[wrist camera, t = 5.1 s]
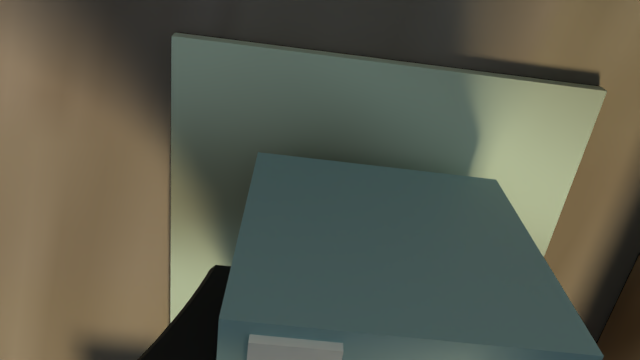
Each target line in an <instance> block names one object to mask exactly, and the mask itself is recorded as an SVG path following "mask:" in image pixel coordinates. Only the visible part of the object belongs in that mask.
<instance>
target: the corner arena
mask: <svg viewBox="0 0 640 360" xmlns="http://www.w3.org/2000/svg"><path fill="white" fill-rule="evenodd" d="M606 93H607V91H606V90H605V89H603V88H602V87H600V86H592V85H584V84H576V83H568V82H560V81H553V80H545V79H537V78H529V77H521V76H513V75H505V74H498V73H490V72H482V71H474V70H466V69H458V68H450V67H443V66H435V65H427V64H419V63H411V62H403V61H395V60H388V59H380V58H372V57H364V56H356V55H348V54H340V53H333V52H325V51H317V50H309V49H301V48H293V47H285V46H278V45H270V44H262V43H254V42H246V41H238V40H230V39H223V38H215V37H207V36H199V35H191V34H183V33H174V34H173V35H172V39H171V288H170V323H171V322H172V321H173V320H174V318H175V317H176V316H177V315H178V313H179V312H180V311H181V310H182V309H183V307H184V306H185V305H186V303H187V302H188V301H189V299H190V298H191V297H192V295H193V294H194V293H195V291H196V290H197V288H198V287H199V286H200V284H201V283H202V281H203V279H204V278H205V276H206V275H207V273H208V271H209V270H210V269H211V268H212V267H214V266H215V265H223V266H231V265H232V260H233V256H234V252H235V248H236V243H237V239H238V235H239V231H240V226H241V222H242V218H243V214H244V209H245V205H246V201H247V197H248V192H249V188H250V184H251V180H252V175H253V171H254V167H255V163H256V158H257V154H258V152H260V153H269V154H278V155H287V156H295V157H304V158H313V159H322V160H330V161H339V162H348V163H356V164H365V165H374V166H383V167H391V168H400V169H409V170H418V171H426V172H435V173H444V174H452V175H461V176H470V177H479V178H487V179H496V180H497V182H498V183H499V185H500V187H501V188H502V190H503V191H504V193H505V195H506V196H507V198H508V200H509V201H510V203H511V205H512V206H513V208H514V209H515V211H516V213H517V214H518V216H519V218H520V219H521V221H522V223H523V224H524V226H525V228H526V229H527V231H528V232H529V234H530V236H531V237H532V239H533V241H534V242H535V244H536V246H537V247H538V249H539V251H540V252H541V254H542V255H543V257H544V255H545V253H546V250H547V247H548V245H549V242H550V240H551V237H552V234H553V232H554V229H555V226H556V224H557V221H558V219H559V216H560V213H561V211H562V208H563V206H564V203H565V200H566V198H567V195H568V192H569V190H570V187H571V185H572V182H573V179H574V177H575V174H576V171H577V169H578V166H579V164H580V161H581V158H582V156H583V153H584V150H585V148H586V145H587V143H588V140H589V137H590V135H591V132H592V129H593V127H594V124H595V122H596V119H597V116H598V114H599V111H600V108H601V106H602V103H603V101H604V98H605V95H606ZM597 346H598V347H599V349H600V351H601V352H602V354H603V356H604V357H603V359H602V360H640V254H639V256H638V259H637V261H636V263H635V265H634V267H633V269H632V271H631V273H630V275H629V277H628V280H627V282H626V284H625V286H624V288H623V290H622V292H621V294H620V296H619V298H618V301H617V303H616V305H615V307H614V309H613V311H612V313H611V315H610V317H609V319H608V322H607V324H606V326H605V328H604V330H603V332H602V334H601V336H600V338H599V340H598V343H597Z"/></svg>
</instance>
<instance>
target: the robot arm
mask: <svg viewBox="0 0 640 360" xmlns="http://www.w3.org/2000/svg"><path fill="white" fill-rule="evenodd" d="M230 269H231V266H223V265H215V266H214V267H212V268H211V269H210V270H209V271H208V273H207V275H206V276H205V278H204V279H203V281H202V283H201V284H200V286H199V287H198V288H197V290H196V291H195V293H194V294H193V295H192V297H191V298H190V299H189V301H188V302H187V303H186V305H185V306H184V307H183V309H182V310H181V311H180V312H179V313H178V315H177V316H176V317H175V318H174V320H173V321H172V322H171V323H170V324H169V326H168V327H167V328H166V329H165V330H164V332H163V333H162V334H161V335H160V336H159V337H158V339H157V340H156V341H155V342H154V343H153V344H152V345H151V346H150V347H149V348H148V349H147V350H146V351H145V353H144V354H143V355H142V356H141V357H140V358H139V359H138V360H216V358H217V340H218V322H219V316H220V311H221V307H222V303H223V299H224V294H225V290H226V286H227V282H228V277H229V273H230Z"/></svg>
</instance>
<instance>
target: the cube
mask: <svg viewBox="0 0 640 360" xmlns="http://www.w3.org/2000/svg"><path fill="white" fill-rule="evenodd" d="M603 357H604V356H603V354H602V352H601V351H600V349H599V347H598V346H597V344H596V342H595V341H594V339H593V337H592V336H591V334H590V333H589V331H588V329H587V328H586V326H585V324H584V323H583V321H582V319H581V318H580V316H579V315H578V313H577V311H576V310H575V308H574V306H573V305H572V303H571V301H570V300H569V298H568V296H567V295H566V293H565V292H564V290H563V288H562V287H561V285H560V283H559V282H558V280H557V278H556V277H555V275H554V273H553V272H552V270H551V269H550V267H549V265H548V264H547V262H546V260H545V259H544V257H543V255H542V254H541V252H540V251H539V249H538V247H537V246H536V244H535V242H534V241H533V239H532V237H531V236H530V234H529V232H528V231H527V229H526V228H525V226H524V224H523V223H522V221H521V219H520V218H519V216H518V214H517V213H516V211H515V209H514V208H513V206H512V205H511V203H510V201H509V200H508V198H507V196H506V195H505V193H504V191H503V190H502V188H501V187H500V185H499V183H498V182H497V180H496V179H487V178H479V177H470V176H461V175H452V174H444V173H435V172H426V171H418V170H409V169H400V168H391V167H383V166H374V165H365V164H356V163H348V162H339V161H330V160H322V159H313V158H304V157H295V156H287V155H278V154H269V153H260V152H258V154H257V158H256V163H255V167H254V171H253V175H252V180H251V184H250V188H249V192H248V197H247V201H246V205H245V209H244V214H243V218H242V222H241V226H240V231H239V235H238V239H237V243H236V248H235V252H234V256H233V260H232V265H231V269H230V273H229V277H228V282H227V286H226V290H225V294H224V299H223V303H222V307H221V311H220V316H219V322H218V340H217V358H216V360H602V359H603Z"/></svg>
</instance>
